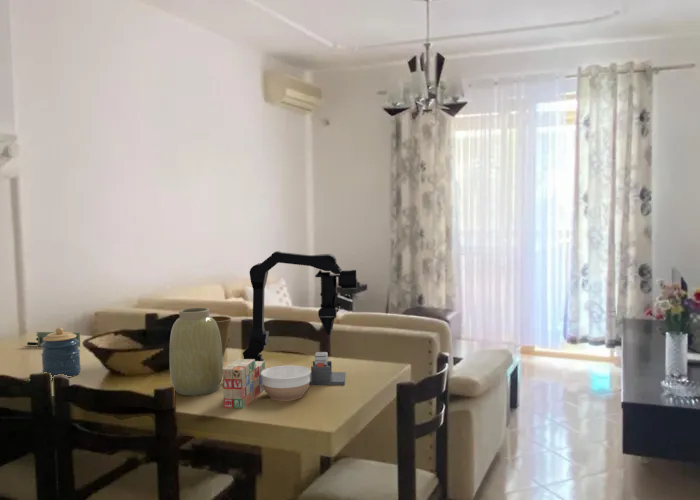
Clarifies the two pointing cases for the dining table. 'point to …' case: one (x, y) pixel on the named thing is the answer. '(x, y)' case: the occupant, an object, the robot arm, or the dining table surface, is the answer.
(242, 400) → the stack of blocks
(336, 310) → the robot arm
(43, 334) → the handheld radio
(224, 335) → the plant pot
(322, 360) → the column
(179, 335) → the vase
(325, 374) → the grey stepped stand
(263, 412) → the dining table surface
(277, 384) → the bowl
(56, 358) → the canister
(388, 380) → the dining table surface
